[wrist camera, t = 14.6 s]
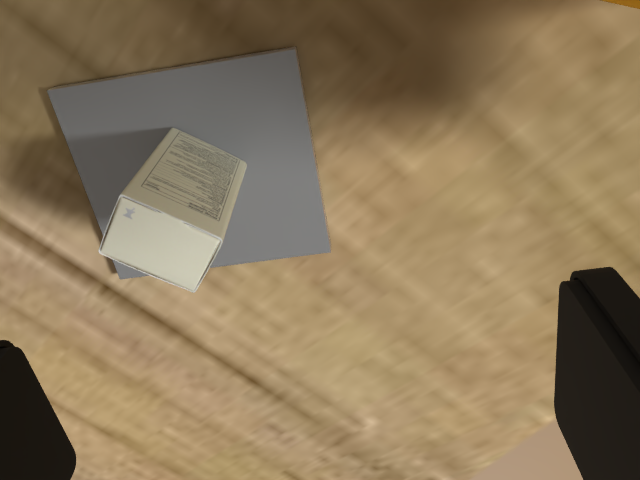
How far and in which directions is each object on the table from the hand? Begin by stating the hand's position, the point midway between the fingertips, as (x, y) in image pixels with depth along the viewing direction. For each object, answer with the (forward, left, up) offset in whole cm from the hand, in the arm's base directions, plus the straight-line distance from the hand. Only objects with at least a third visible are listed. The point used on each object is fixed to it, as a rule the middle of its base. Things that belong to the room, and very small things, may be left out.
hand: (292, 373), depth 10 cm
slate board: (+11, +8, -33) cm, 36 cm away
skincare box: (+10, +7, -32) cm, 35 cm away
